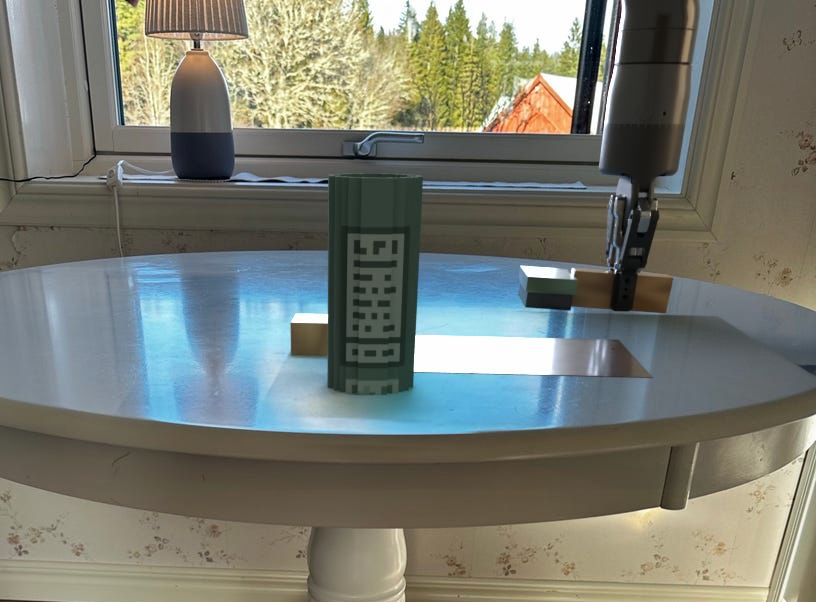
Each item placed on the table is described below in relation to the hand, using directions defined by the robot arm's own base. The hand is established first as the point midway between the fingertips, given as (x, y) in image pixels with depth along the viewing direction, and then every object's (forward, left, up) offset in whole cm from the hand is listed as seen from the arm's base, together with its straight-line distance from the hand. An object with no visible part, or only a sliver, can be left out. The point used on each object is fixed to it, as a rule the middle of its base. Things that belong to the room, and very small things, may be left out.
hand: (618, 307), depth 100 cm
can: (+24, +37, -1) cm, 44 cm away
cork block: (+27, +26, +1) cm, 38 cm away
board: (+13, +26, -1) cm, 29 cm away
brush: (+3, 0, 0) cm, 3 cm away
